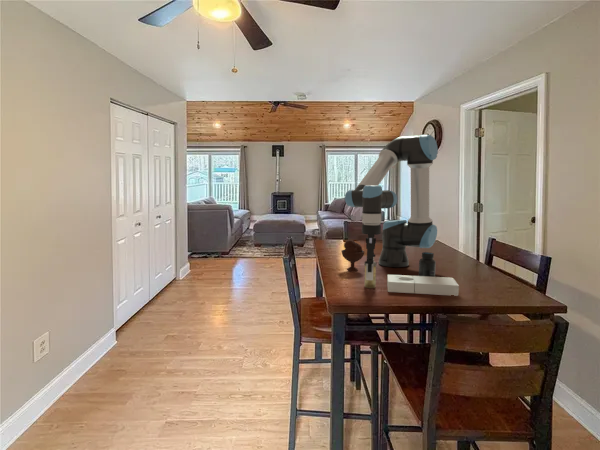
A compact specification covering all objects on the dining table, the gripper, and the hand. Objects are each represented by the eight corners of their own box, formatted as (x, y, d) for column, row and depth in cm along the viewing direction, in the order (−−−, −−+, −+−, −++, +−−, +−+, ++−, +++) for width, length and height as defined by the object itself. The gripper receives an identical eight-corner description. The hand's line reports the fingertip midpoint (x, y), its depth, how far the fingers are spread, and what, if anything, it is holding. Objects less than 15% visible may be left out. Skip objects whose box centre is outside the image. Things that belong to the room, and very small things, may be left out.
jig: (387, 283, 159) (387, 274, 158) (452, 287, 153) (452, 277, 153) (387, 291, 147) (388, 281, 147) (458, 295, 142) (458, 285, 141)
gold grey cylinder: (364, 284, 157) (364, 261, 156) (376, 285, 156) (376, 261, 155) (363, 287, 152) (364, 263, 151) (375, 288, 151) (376, 264, 150)
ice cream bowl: (354, 274, 176) (354, 242, 174) (336, 269, 184) (336, 239, 182) (368, 270, 183) (369, 239, 181) (351, 266, 191) (351, 237, 189)
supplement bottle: (436, 282, 161) (437, 254, 160) (419, 281, 162) (420, 254, 161) (433, 278, 168) (434, 251, 166) (417, 277, 169) (418, 251, 168)
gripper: (363, 221, 164) (361, 269, 166) (360, 226, 140) (358, 282, 142) (380, 221, 163) (379, 270, 165) (381, 227, 139) (379, 284, 141)
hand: (369, 276), depth 154 cm, fingers open, 13 cm apart
